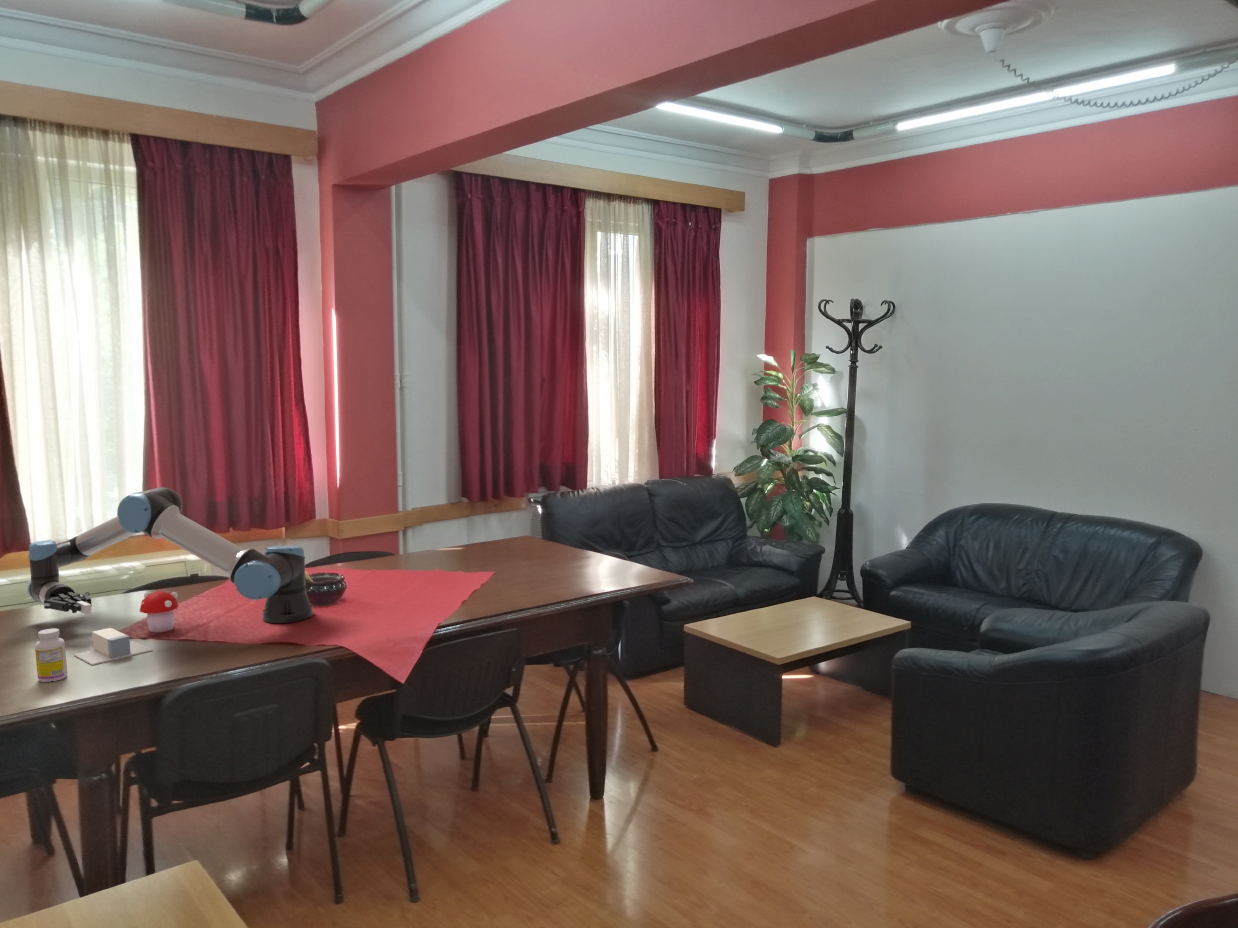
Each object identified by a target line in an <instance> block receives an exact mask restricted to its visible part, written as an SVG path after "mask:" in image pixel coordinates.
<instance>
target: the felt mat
mask: <svg viewBox="0 0 1238 928" xmlns="http://www.w3.org/2000/svg"><path fill="white" fill-rule="evenodd" d="M130 652H131V654H127V655H123V656H118V657H114V658H111V657H109V656H107V655H105V654H103V653H101V652H99V651H97V650H95V649H91V650H86V651H83V652H78V653H74V654H73V656H74V657H75V656H76V658H77V657H78V658H77V659H79V660H81V659H82V660H81V661H83V662H85V663H86V662H87V664H88V663H89V665H90V666H96V665H100V664H104V663H108V662H112V661H113V662H114V661H116V660H120V659H123V658H129V657H133V656H138V655H141V654H145V653H149V652H153V649H152V648H150V647H149V646H145V645H143V644H142V643H139V642H137V641H135V640H130Z"/></svg>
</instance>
